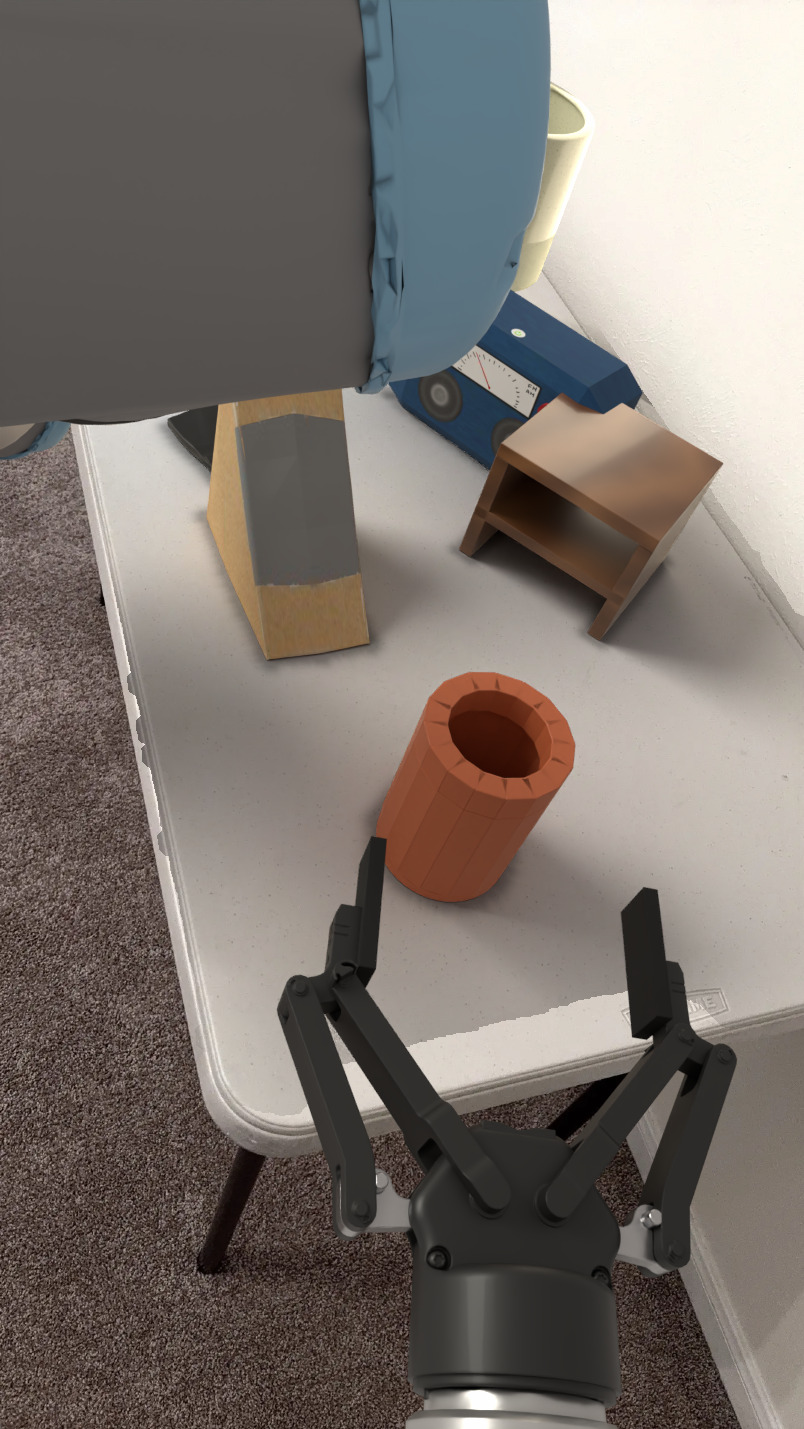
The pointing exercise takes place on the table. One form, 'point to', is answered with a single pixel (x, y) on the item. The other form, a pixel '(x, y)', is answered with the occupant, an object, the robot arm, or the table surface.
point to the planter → (555, 180)
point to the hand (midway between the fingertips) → (508, 876)
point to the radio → (515, 380)
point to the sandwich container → (289, 521)
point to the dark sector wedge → (197, 432)
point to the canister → (473, 784)
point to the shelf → (566, 538)
